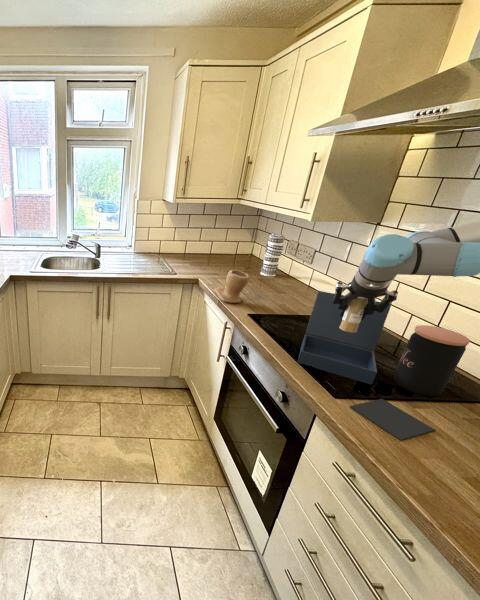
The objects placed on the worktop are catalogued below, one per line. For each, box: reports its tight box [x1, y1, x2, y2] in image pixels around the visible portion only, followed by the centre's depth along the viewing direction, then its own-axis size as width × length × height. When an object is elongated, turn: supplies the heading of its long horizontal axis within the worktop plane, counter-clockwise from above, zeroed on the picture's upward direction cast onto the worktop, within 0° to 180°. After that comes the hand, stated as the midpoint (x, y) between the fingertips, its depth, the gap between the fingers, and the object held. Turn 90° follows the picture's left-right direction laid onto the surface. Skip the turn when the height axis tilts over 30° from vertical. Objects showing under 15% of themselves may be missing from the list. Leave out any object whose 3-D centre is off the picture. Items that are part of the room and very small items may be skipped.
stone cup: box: [214, 269, 250, 304], centre depth 156 cm, size 15×12×15 cm
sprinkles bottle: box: [339, 297, 368, 333], centre depth 98 cm, size 5×5×14 cm
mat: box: [349, 398, 436, 442], centre depth 82 cm, size 12×12×1 cm
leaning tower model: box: [260, 233, 286, 277], centre depth 193 cm, size 9×9×25 cm
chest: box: [297, 333, 378, 386], centre depth 106 cm, size 15×19×5 cm
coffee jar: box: [392, 324, 471, 397], centre depth 92 cm, size 11×11×18 cm
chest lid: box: [305, 290, 392, 351], centre depth 108 cm, size 16×19×1 cm
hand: (351, 314), depth 102 cm, fingers closed on sprinkles bottle, 4 cm apart
